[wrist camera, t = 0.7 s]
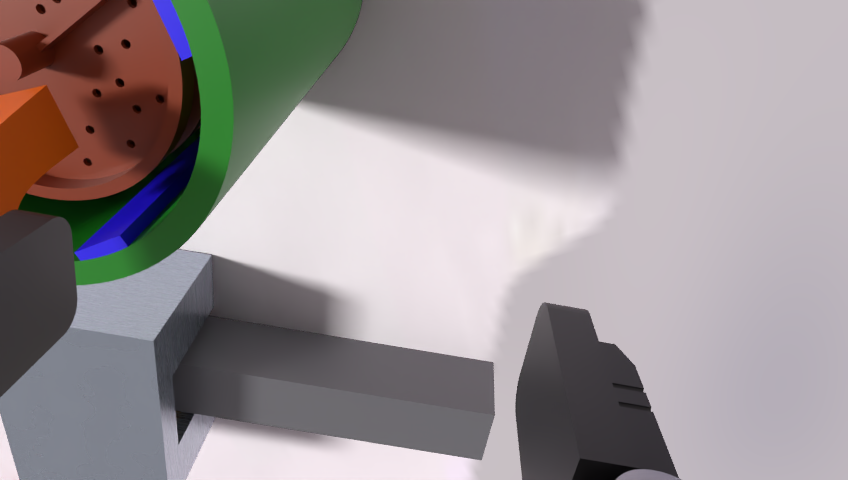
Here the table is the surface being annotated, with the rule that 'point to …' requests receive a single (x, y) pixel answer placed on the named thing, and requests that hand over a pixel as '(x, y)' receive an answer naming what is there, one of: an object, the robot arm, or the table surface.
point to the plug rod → (337, 387)
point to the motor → (148, 111)
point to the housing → (115, 381)
